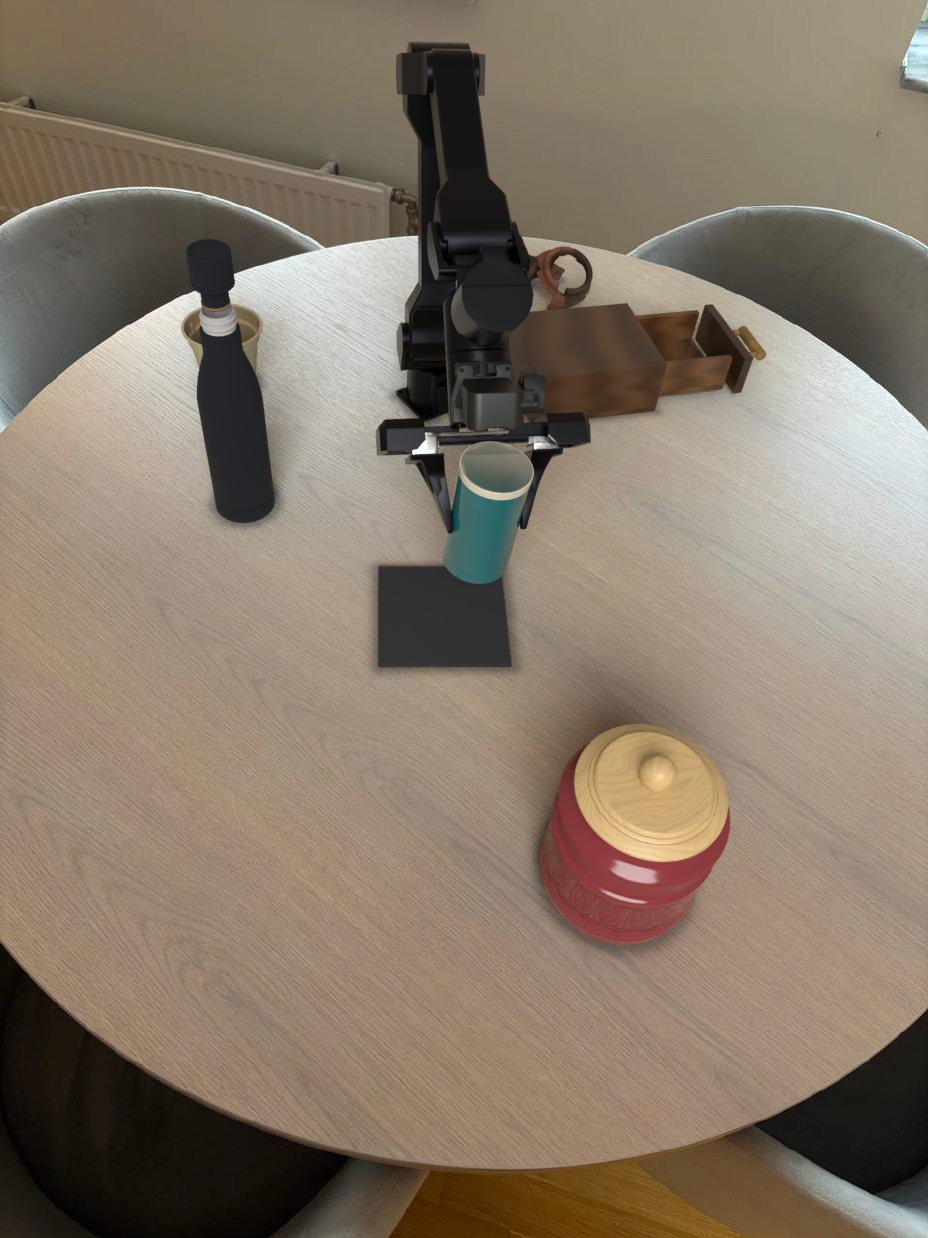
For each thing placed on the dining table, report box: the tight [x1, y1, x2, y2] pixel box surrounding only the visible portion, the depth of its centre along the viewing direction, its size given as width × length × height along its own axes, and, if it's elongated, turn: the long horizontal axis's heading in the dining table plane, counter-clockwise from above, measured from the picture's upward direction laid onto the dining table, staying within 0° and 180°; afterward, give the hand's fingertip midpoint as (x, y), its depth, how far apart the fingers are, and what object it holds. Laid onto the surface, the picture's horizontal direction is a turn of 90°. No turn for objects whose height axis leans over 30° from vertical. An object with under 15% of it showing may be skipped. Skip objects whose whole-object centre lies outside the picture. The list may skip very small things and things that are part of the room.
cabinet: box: [509, 302, 667, 423], centre depth 121 cm, size 17×14×7 cm
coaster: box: [377, 566, 512, 668], centre depth 97 cm, size 13×13×1 cm
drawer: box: [635, 303, 767, 397], centre depth 124 cm, size 20×12×5 cm, turn 105°
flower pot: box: [180, 302, 264, 375], centre depth 115 cm, size 9×9×9 cm
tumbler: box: [441, 441, 534, 584], centre depth 86 cm, size 6×6×12 cm
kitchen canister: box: [539, 723, 731, 946], centre depth 73 cm, size 13×13×18 cm
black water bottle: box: [184, 238, 276, 524], centre depth 94 cm, size 6×6×30 cm
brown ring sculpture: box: [527, 245, 594, 310], centre depth 134 cm, size 12×10×8 cm
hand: (486, 531), depth 86 cm, fingers closed on tumbler, 6 cm apart
